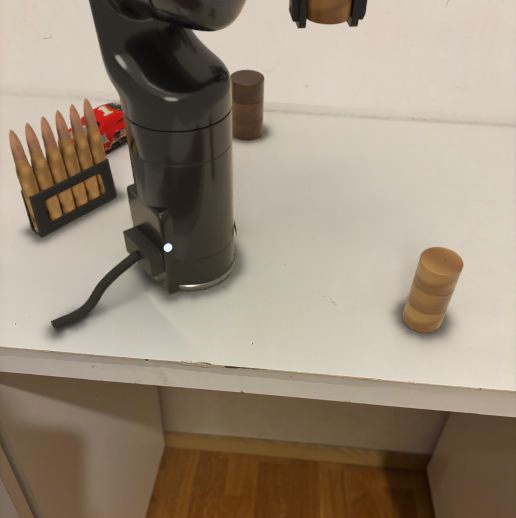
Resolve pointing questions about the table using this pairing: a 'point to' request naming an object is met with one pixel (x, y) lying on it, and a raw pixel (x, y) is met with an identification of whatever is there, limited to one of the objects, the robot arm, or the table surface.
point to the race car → (108, 125)
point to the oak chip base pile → (432, 289)
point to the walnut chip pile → (247, 104)
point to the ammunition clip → (63, 171)
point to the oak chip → (329, 11)
